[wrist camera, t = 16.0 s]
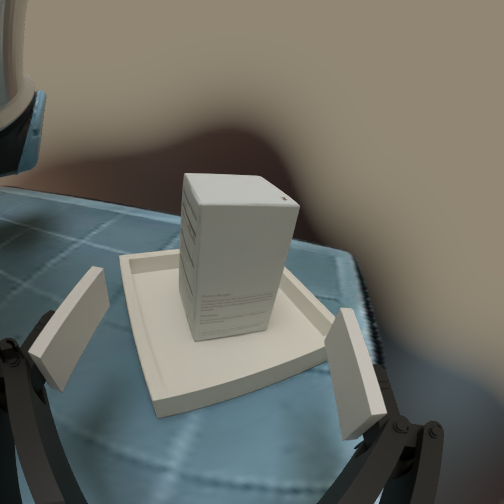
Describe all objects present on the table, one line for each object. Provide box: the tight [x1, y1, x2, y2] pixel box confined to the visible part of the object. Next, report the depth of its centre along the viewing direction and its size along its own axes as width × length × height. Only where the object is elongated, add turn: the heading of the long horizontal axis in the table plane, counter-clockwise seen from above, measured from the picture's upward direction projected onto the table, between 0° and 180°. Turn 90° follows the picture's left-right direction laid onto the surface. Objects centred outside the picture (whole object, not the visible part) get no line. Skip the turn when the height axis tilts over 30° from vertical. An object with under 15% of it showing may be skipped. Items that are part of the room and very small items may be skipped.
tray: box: [119, 249, 335, 418], centre depth 26 cm, size 18×18×3 cm
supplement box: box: [179, 173, 300, 341], centre depth 23 cm, size 7×7×13 cm
